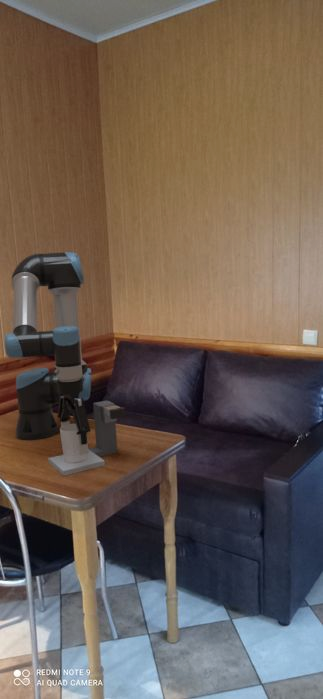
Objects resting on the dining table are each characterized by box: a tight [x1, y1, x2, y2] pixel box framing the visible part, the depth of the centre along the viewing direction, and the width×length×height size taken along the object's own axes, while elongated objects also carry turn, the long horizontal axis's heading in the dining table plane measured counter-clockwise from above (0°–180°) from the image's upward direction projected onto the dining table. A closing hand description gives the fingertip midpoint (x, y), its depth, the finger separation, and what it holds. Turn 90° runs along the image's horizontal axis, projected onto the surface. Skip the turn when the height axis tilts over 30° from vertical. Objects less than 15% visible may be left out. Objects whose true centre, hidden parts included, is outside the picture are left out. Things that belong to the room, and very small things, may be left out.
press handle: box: [101, 403, 127, 423], centre depth 163 cm, size 8×4×5 cm, turn 31°
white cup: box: [59, 422, 87, 463], centre depth 161 cm, size 8×8×10 cm
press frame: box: [48, 400, 118, 477], centre depth 162 cm, size 13×21×16 cm, turn 121°
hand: (75, 447), depth 161 cm, fingers open, 13 cm apart
